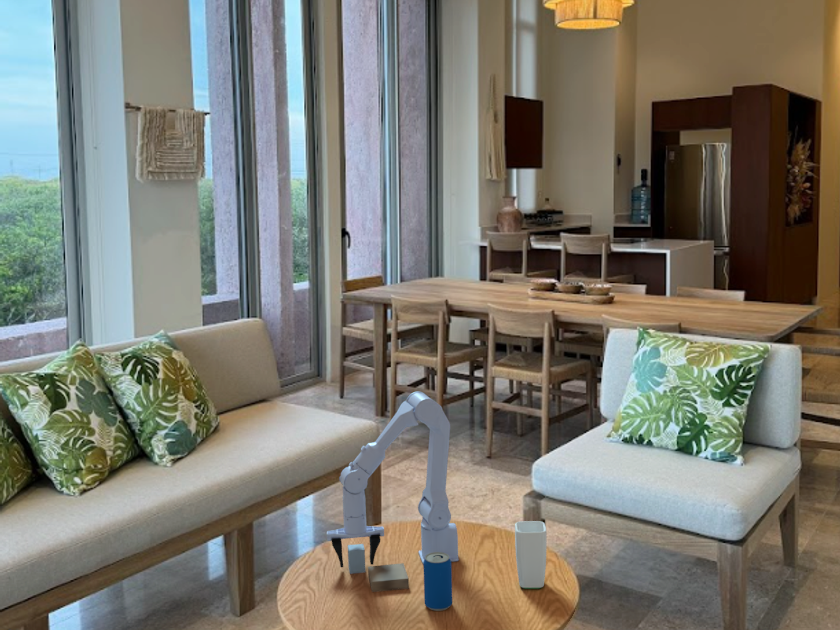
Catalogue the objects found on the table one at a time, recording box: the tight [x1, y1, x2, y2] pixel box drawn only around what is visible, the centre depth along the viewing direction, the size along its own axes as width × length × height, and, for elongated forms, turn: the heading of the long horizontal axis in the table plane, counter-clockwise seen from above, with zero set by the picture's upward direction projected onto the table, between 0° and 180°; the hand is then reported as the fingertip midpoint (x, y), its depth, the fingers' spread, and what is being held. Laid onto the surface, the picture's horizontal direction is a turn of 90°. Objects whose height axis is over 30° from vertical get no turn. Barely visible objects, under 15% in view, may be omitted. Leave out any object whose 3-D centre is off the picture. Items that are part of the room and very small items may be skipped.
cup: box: [514, 520, 547, 590], centre depth 218 cm, size 7×7×15 cm
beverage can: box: [422, 552, 453, 612], centre depth 209 cm, size 6×6×12 cm
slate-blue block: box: [347, 543, 366, 575], centre depth 230 cm, size 4×4×6 cm
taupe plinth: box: [367, 562, 410, 593], centre depth 223 cm, size 9×9×3 cm
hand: (356, 564), depth 231 cm, fingers open, 7 cm apart
